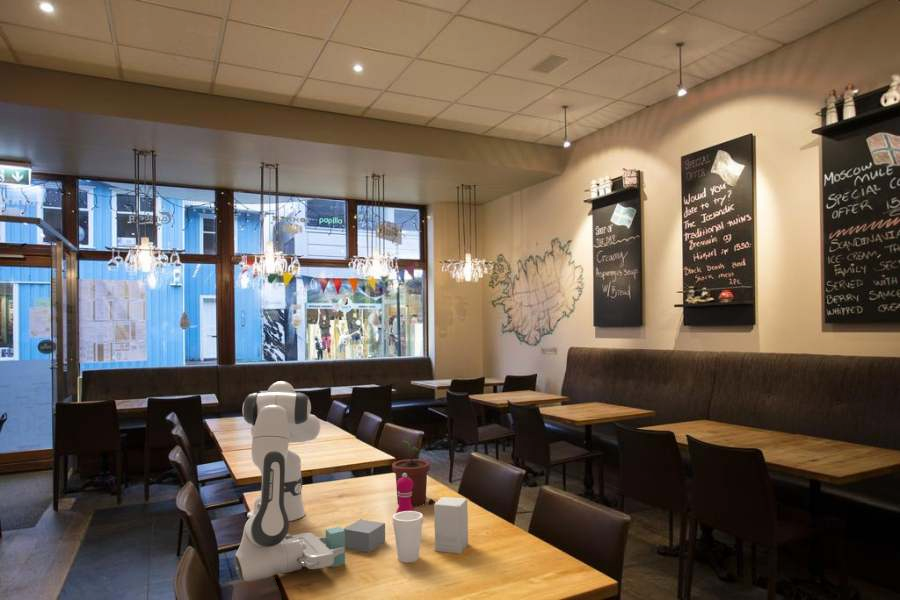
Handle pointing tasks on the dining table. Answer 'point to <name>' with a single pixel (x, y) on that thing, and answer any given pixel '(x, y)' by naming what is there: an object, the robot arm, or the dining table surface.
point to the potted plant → (414, 477)
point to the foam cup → (408, 534)
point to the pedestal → (364, 535)
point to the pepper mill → (404, 493)
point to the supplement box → (451, 524)
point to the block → (336, 543)
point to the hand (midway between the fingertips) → (337, 544)
